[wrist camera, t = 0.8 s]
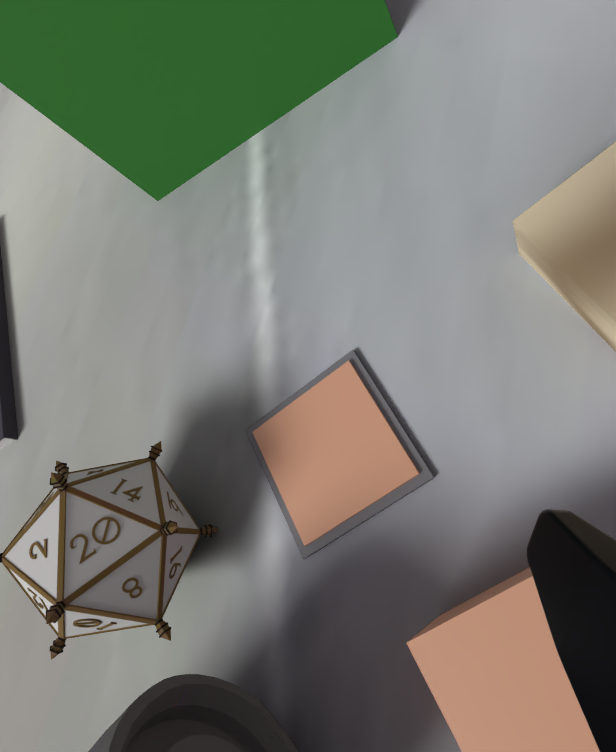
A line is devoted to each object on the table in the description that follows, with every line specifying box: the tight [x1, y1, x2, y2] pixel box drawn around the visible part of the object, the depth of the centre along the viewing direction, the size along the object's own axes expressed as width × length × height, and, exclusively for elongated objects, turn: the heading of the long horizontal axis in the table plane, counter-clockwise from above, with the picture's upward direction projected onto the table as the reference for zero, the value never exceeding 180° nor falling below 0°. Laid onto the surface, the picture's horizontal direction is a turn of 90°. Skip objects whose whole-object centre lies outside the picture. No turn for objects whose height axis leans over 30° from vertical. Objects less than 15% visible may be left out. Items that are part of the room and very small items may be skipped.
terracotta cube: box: [407, 567, 600, 752], centre depth 14 cm, size 4×4×4 cm
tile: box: [246, 350, 435, 559], centre depth 21 cm, size 7×7×1 cm
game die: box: [0, 441, 218, 659], centre depth 21 cm, size 9×8×10 cm
